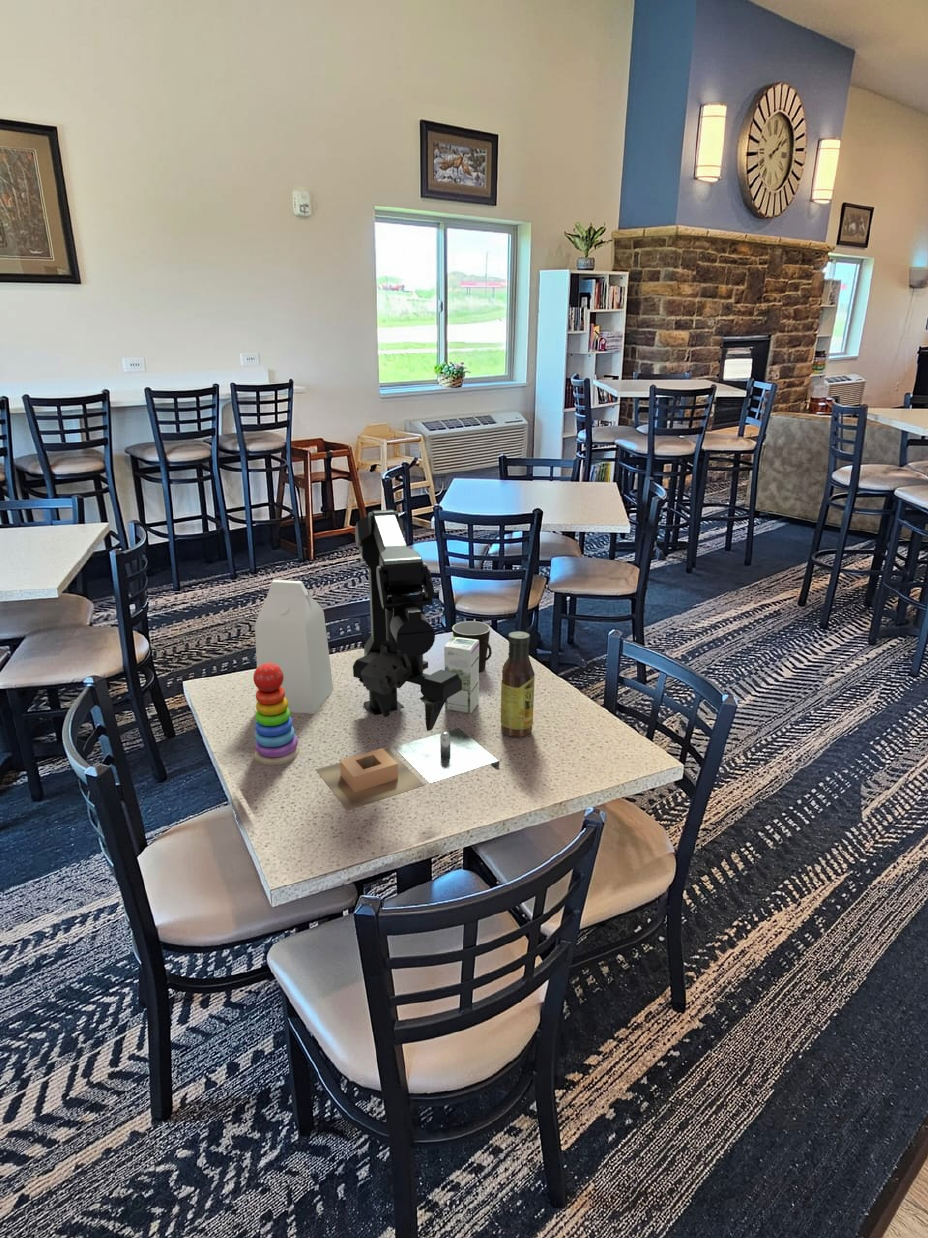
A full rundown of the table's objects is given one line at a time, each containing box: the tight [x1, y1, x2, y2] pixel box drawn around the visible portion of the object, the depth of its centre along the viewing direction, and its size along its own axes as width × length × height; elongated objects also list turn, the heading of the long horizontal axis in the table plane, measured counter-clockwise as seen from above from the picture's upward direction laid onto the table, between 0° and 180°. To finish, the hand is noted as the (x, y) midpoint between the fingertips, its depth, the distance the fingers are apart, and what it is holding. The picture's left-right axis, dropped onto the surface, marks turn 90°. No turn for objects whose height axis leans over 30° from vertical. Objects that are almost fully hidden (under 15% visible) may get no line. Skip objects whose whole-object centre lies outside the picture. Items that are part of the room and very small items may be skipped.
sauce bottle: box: [500, 631, 535, 738], centre depth 143 cm, size 7×6×20 cm
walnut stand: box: [315, 748, 425, 811], centre depth 129 cm, size 14×14×4 cm
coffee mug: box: [451, 620, 493, 674], centre depth 171 cm, size 12×9×10 cm
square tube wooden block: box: [339, 747, 398, 792], centre depth 129 cm, size 6×8×3 cm
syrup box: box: [443, 636, 480, 715], centre depth 153 cm, size 6×6×14 cm
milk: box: [254, 579, 334, 715], centre depth 155 cm, size 12×12×26 cm
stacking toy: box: [252, 663, 301, 766], centre depth 134 cm, size 8×8×19 cm
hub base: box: [393, 727, 500, 784], centre depth 136 cm, size 14×14×5 cm
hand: (407, 723), depth 125 cm, fingers open, 9 cm apart
